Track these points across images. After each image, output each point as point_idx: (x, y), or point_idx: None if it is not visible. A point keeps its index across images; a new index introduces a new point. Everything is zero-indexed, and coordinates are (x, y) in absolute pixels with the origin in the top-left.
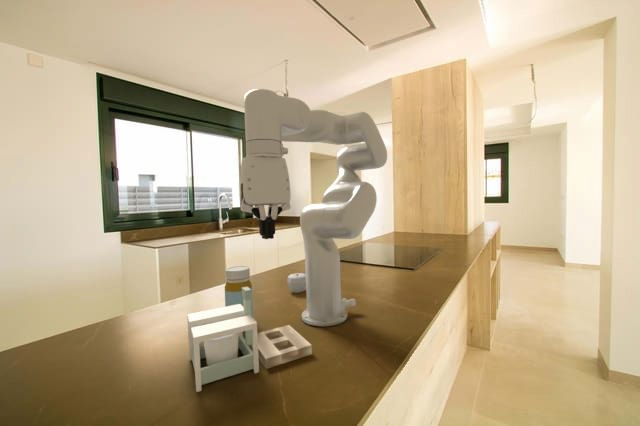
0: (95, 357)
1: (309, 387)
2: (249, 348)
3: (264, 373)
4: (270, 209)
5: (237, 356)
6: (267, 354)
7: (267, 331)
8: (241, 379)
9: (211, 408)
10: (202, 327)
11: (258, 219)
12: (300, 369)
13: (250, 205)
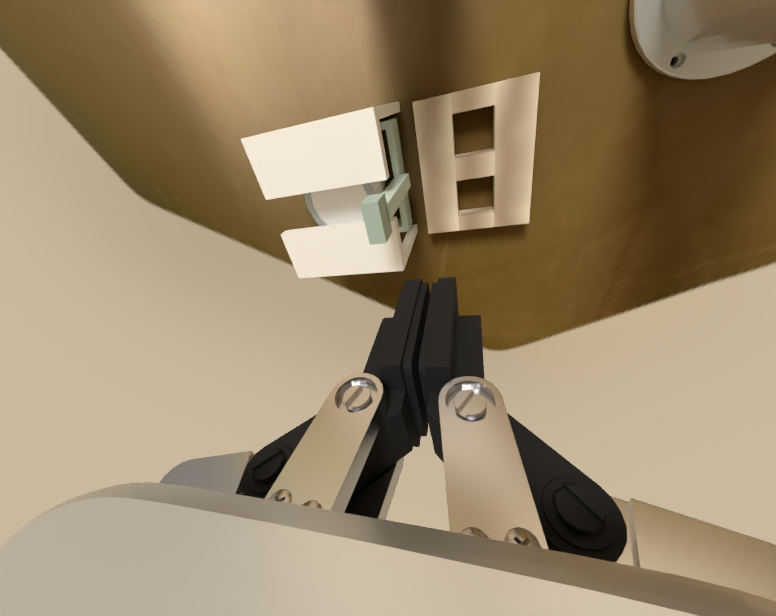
0: (94, 19)
1: (474, 294)
2: (402, 204)
3: (425, 237)
4: (472, 498)
5: (383, 190)
6: (434, 220)
7: (463, 97)
8: None
9: (355, 277)
10: (301, 243)
11: (352, 383)
12: (482, 251)
13: (189, 494)
